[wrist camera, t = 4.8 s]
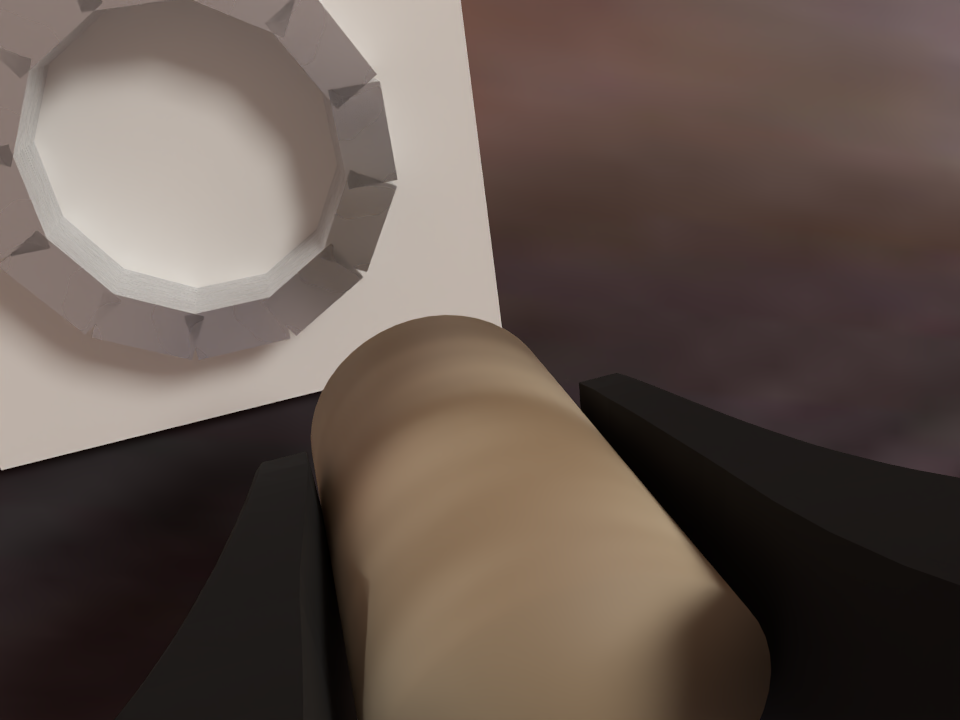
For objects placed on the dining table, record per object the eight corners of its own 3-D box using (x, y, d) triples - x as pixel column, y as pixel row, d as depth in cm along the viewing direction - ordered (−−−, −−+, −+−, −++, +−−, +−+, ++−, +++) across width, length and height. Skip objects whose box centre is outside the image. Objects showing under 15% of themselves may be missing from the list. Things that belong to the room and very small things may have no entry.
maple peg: (346, 560, 13) (421, 941, 8) (279, 355, 11) (319, 675, 6) (564, 489, 14) (767, 793, 8) (535, 285, 12) (774, 514, 7)
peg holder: (8, 456, 18) (-19, 511, 16) (-301, -161, 12) (-402, -191, 10) (497, 336, 20) (524, 371, 18) (423, -226, 14) (452, -261, 13)
